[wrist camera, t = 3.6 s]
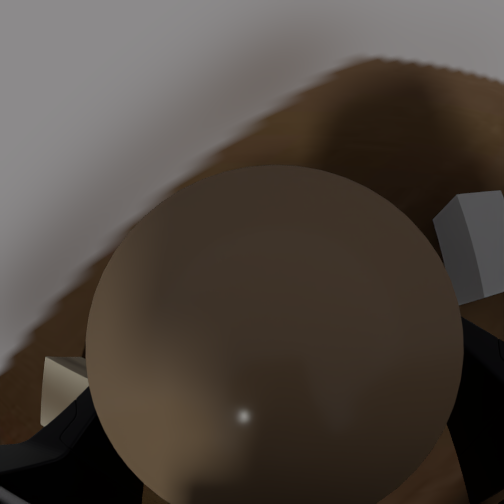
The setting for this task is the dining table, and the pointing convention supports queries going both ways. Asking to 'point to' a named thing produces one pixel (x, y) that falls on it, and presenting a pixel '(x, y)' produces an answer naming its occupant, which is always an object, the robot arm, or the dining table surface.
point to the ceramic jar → (274, 342)
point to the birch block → (61, 385)
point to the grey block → (473, 244)
